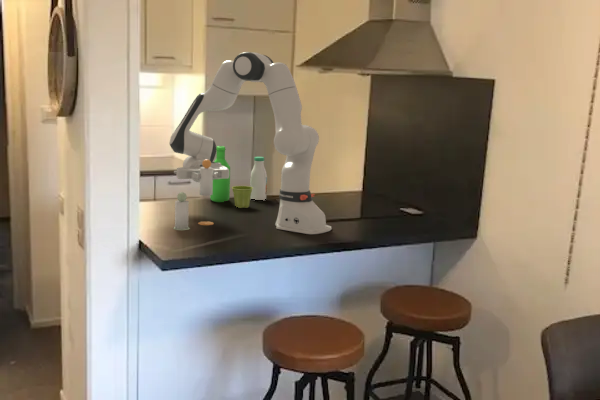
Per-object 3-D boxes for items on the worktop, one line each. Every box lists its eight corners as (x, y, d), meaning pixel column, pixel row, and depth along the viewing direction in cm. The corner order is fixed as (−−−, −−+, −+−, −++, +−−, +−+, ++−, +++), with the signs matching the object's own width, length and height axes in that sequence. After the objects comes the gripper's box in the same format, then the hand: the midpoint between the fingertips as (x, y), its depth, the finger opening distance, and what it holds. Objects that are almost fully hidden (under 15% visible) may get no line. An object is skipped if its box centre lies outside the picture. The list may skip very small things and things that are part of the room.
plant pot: (227, 207, 280) (228, 188, 279) (236, 203, 289) (236, 184, 288) (247, 209, 278) (247, 190, 276) (255, 206, 286) (256, 186, 285)
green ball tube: (190, 228, 237) (191, 192, 234) (180, 230, 233) (181, 194, 231) (182, 226, 240) (182, 190, 237) (172, 227, 236) (172, 192, 234)
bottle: (208, 199, 298) (209, 145, 293) (227, 198, 300) (228, 145, 295) (212, 202, 289) (212, 147, 284) (231, 202, 292) (232, 147, 287)
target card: (222, 226, 246) (222, 224, 246) (182, 234, 231) (182, 232, 230) (204, 221, 252) (204, 219, 252) (164, 229, 237) (164, 227, 237)
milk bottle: (263, 201, 297) (265, 158, 293) (247, 200, 298) (249, 157, 295) (268, 198, 304) (269, 156, 301) (252, 197, 306) (253, 155, 302)
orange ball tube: (215, 194, 244) (215, 159, 241) (205, 196, 240) (206, 160, 238) (206, 192, 247) (207, 158, 244) (197, 194, 243) (197, 158, 241)
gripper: (172, 163, 250) (179, 168, 237) (224, 162, 257) (233, 167, 244) (172, 179, 251) (179, 185, 238) (223, 178, 258) (232, 184, 246)
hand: (206, 176), depth 242 cm, fingers closed on orange ball tube, 5 cm apart
